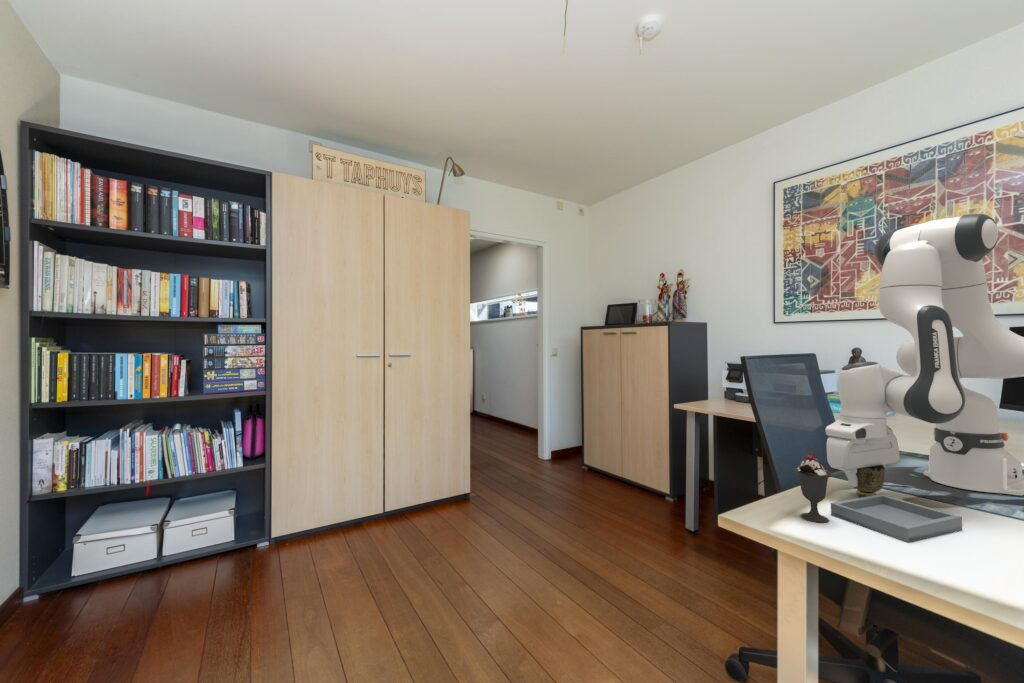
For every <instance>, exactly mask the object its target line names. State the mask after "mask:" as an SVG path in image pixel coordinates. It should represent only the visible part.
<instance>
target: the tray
mask: <svg viewBox="0 0 1024 683" xmlns="http://www.w3.org/2000/svg"><path fill="white" fill-rule="evenodd" d="M830 515H831V516H833V517H835V518H836V517H837V518H839V519H842V520H844V521H847V522H850V523H852V522H853V523H852V524H855V523H856V525H858V524H859V525H858V526H860V527H863V528H867V529H869V530H872V531H874V532H877V531H878V533H880V532H881V533H880V534H883V533H884V535H886V534H887V535H886V536H889V535H890V536H889V537H891V536H892V537H891V538H894V537H895V539H898V540H901V541H903V542H905V541H906V543H908V544H909V543H914V542H917V541H920V540H925V539H930V538H933V537H938V536H943V535H947V534H951V533H955V531H956V532H960V531H963V520H962V519H963V517H962V516H960V515H956V514H953V513H949V512H946V511H942V510H938V509H934V508H931V507H928V506H924V505H920V504H918V503H913V502H911V501H907V500H903V499H899V498H895V497H891V496H889V495H885V494H881V493H880V494H876V495H873V496H868V497H856V498H851V499H846V500H841V501H835V502H830Z"/></svg>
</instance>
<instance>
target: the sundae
mask: <svg viewBox="0 0 1024 683" xmlns="http://www.w3.org/2000/svg"><path fill="white" fill-rule="evenodd" d="M810 449H811V452H810V454H809V455H806V458H804V459H803V460H802V461H801V463H800V465H799V466H797V468H794V469H793V470H794V472H796V474H797V475H798V479H799V485H800V490H801V494H802V496H803V497H804V498H805V499H806V500H807V501H809V503H810V509H809V510H810V511H809V512H804V513H803V512H802V513H801V514H800V517H801V518H802V519H804V520H806V521H808V520H809V521H808V522H813V523H819V524H825V523H828V522H830V520H829V518H828V517H826V516H824V515H821V514H820V513H819V509H818V504H819V503H820V502H822V501H824V499H825V498H826V494H827V489H828V488H827V487H828V480H829V478H831V477H833V474H832V472H831V471H829V470H828V469H825V467H824V466H823V465H822V464H820V462H819V460H818V458H816V454H815V452H814V446H813V447H811V446H810ZM812 454H813V456H812Z"/></svg>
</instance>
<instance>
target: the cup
mask: <svg viewBox="0 0 1024 683" xmlns="http://www.w3.org/2000/svg"><path fill="white" fill-rule="evenodd" d="M885 473H886V469H885V468H884V465H878V466H872V467H865V468H858V469H857V473H856V476H857V478H858V479H860V486H857V487H853V488H854V489H856V494H857V496H859V498H862V497H868V496H873V495H877V492H879V491H881V490H882V488H883V487H884V482H885Z"/></svg>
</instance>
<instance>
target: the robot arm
mask: <svg viewBox="0 0 1024 683" xmlns="http://www.w3.org/2000/svg"><path fill="white" fill-rule="evenodd" d="M998 239H999V229H998V226H997V222H996V221H995V219H994V218H992V217H991V216H989V215H987V214H985V213H970V214H964V215H961V216H953V217H946V218H939V219H934V220H933V219H932V220H928V221H926V222H922V223H918V224H914V225H911V226H907V227H903V228H896V229H892V230H890V231H887V232H886V233H884V234H882V235H881V236H880V237H879V239H878V240H877V242H876V243H875V247H874V255H875V258H876V261H877V262H878V263H879V265H881V266H882V267H881V274H880V278H879V284H878V285H879V288H878V300H877V301H878V307H879V311H880V314H881V316H883V317H884V319H886V320H887V321H889V322H890V323H892V324H894V325H896V326H898V327H901V328H903V329H904V330H906V331H907V332H908V333H910V335H911V336H912V338H913V340H908V341H905V342H903V343H902V344H901V345H900V347H899V348H898V349H897V351H896V354H895V355H896V363H897V365H898V367H899V368H900V369H901V370H902V371H903V372H904V373H905V374H903V373H900V372H896V371H894V370H890V369H889V368H888V367H884V366H883V365H881V364H880V363H879V362H876V361H863V362H862V361H860V362H853V363H849V364H846V365H844V366H842V367H841V369H840V371H839V375H838V385H837V388H838V390H837V391H838V399H839V402H840V409H839V418H838V419H836V421H833V423H831V424H828V425H827V426H826V427H825V431H824V432H825V435H826V436H828V438H827V440H826V459H827V463H828V465H829V466H830V468H832V469H837V470H841V471H843V472H844V474H845V476H846V477H847V483H848V485H849V486H851V487H852V488H854V487H857V486H860V479H858V478H857V476H856V473H857V469H858V468H865V467H872V466H878V465H884V468H885V470H886V468H887V467H886V466H887V465H890V464H891V465H892V464H897V463H898V462H899V461H900V458H901V457H900V449H899V442H898V439H897V436H896V435H895V434H894V429H892V428H891V427H890V426H889V425H888V424H887V423H888V422H887V413H892V414H897V415H901V416H903V417H910V418H914V419H917V420H920V421H923V422H926V423H929V424H935V425H936V426H935V428H934V429H933V430H934V431H933V435H934V441H935V443H934V444H933V445H931V446H930V447H929V454H928V455H929V456H928V470H923V476H925V477H928V478H929V479H930V480H931V481H933V482H935V483H939V484H940V485H945V486H948V487H953V488H957V489H962V490H968V491H974V492H975V491H976V492H984V493H994V494H1006V495H1013V496H1024V476H1023V475H1024V473H1023V466H1022V462H1021V461H1020V460H1019V459H1018V458H1016V457H1015V456H1014V455H1013V454H1011V453H1010V452H1009V451H1008V450H1007V449H1005V442H1006V441H1008V440H1009V434H1008V433H1007V432H999V420H998V418H999V417H998V406H997V404H996V402H995V401H994V400H993V399H991V398H990V397H989V396H987V395H985V394H982V393H980V392H977V391H975V390H971V389H969V388H966V387H965V386H964V385H963V384H962V382H961V379H989V380H990V379H991V380H992V379H995V380H998V379H999V380H1001V379H1003V380H1004V379H1012V378H1013V379H1015V378H1022V377H1024V336H1021V335H1019V334H1018V333H1016V332H1013V331H1011V330H1010V329H1008V328H1007V327H1006V326H1004V325H1003V324H1002V323H1001V322H1000V321H999V319H997V317H996V316H995V314H994V311H993V310H992V306H991V301H990V297H989V290H988V289H989V288H988V282H987V274H986V269H985V264H984V262H983V257H985V256H988V254H990V253H991V251H993V250H994V248H996V246H997V243H998V241H999V240H998ZM953 328H955V329H957V330H958V331H959V332H960V333H961V335H962V336H954V330H953ZM1004 441H1005V442H1004Z"/></svg>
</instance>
